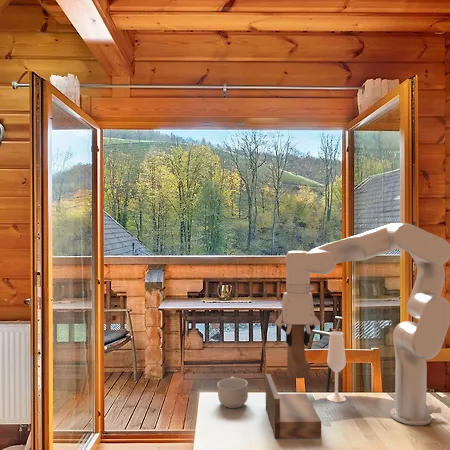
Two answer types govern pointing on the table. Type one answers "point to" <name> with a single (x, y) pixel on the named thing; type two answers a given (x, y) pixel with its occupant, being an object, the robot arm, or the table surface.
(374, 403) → the table surface
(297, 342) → the wooden block
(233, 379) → the teacup
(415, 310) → the robot arm
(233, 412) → the table surface
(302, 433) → the walnut shelf
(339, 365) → the champagne flute
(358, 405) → the table surface
